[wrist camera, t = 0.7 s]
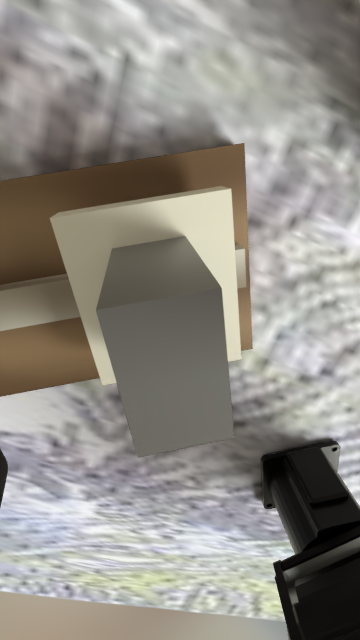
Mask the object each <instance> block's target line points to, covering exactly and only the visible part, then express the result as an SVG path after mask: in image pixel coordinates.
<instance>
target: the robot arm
mask: <svg viewBox="0 0 360 640" xmlns="http://www.w3.org/2000/svg"><path fill="white" fill-rule="evenodd" d="M339 455H340V446H339V444H338V443H337V442H336V441H331V442H326V443H321V444H316V445H312V446H307V447H302V448H297V449H292V450H288V451H283V452H278V453H273V454H268V455H265V456H263V457H262V458H261V476H262V503H263V506H264V508H265V509H272V508H276V509H277V511H278V513H279V516H280V518H281V521H282V523H283V526H284V528H285V530H286V533H287V535H288V538H289V540H290V543H291V545H292V548H293V550H294V552H295V555H293V556H291V557H289V558H287V559H285V560H283V561H281V560H279V561H277V562H274V563H273V565H274V569H275V573H276V576H275V580H276V584H277V588H278V592H279V596H280V600H281V604H282V608H283V612H284V616H285V620H286V624H287V630H288V637H289V640H360V506H359V505H358V503H357V502H356V500H355V499H354V497H353V496H352V494H351V493H350V491H349V490H348V488H347V486H346V485H345V483H344V482H343V480H342V479H341V477H340V476H339V474H338V473H337V471H338V463H339ZM7 473H8V464H7V460H6V458H5V456H4V454H3V453H2V451H1V449H0V507H1V502H2V497H3V493H4V488H5V483H6V478H7Z"/></svg>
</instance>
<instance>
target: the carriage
mask: <svg viewBox="0 0 360 640" xmlns="http://www.w3.org/2000/svg"><path fill="white" fill-rule="evenodd" d="M50 221H51V224H52V227H53V230H54V234H55V237H56V240H57V243H58V246H59V249H60V253H61V256H62V259H63V262H64V265H65V268H66V272H67V275H68V278H69V281H70V284H71V288H72V291H73V294H74V297H75V300H76V303H77V307H78V310H79V313H80V316H81V319H82V322H83V326H84V329H85V332H86V335H87V338H88V342H89V345H90V348H91V351H92V354H93V357H94V361H95V364H96V367H97V370H98V373H99V376H100V380H101V383H102V386H104V385H109V384H114V383H117V386H118V389H119V393H120V396H121V400H122V403H123V407H124V410H125V414H126V417H127V421H128V424H129V428H130V431H131V435H132V438H133V442H134V445H135V449H136V452H137V455H138V457H143V456H148V455H153V454H158V453H162V452H167V451H172V450H177V449H182V448H187V447H192V446H197V445H202V444H207V443H211V442H216V441H221V440H226V439H231V438H234V429H233V417H232V405H231V393H230V381H229V369H228V362H229V361H235V360H240V359H241V343H240V326H239V309H238V293H237V276H236V259H235V242H234V225H233V209H232V192H231V188H227V187H223V186H218V187H212V188H206V189H200V190H194V191H187V192H181V193H175V194H169V195H163V196H156V197H150V198H144V199H138V200H132V201H126V202H119V203H113V204H107V205H101V206H95V207H88V208H82V209H76V210H70V211H64V212H58V213H57V214H55V215H54V216H52V217H51V218H50Z"/></svg>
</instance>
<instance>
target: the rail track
mask: <svg viewBox="0 0 360 640" xmlns="http://www.w3.org/2000/svg"><path fill="white" fill-rule="evenodd" d="M218 186H223V187H227V188H231V192H232V209H233V225H234V242H235V259H236V276H237V293H238V309H239V326H240V343H241V351H243V350H248V349H252V325H251V300H250V275H249V250H248V225H247V200H246V175H245V150H244V143H241V144H235V145H229V146H222V147H216V148H209V149H203V150H196V151H190V152H183V153H177V154H171V155H164V156H158V157H151V158H145V159H138V160H132V161H125V162H119V163H112V164H106V165H100V166H93V167H87V168H80V169H74V170H67V171H61V172H54V173H48V174H42V175H35V176H29V177H22V178H16V179H9V180H3V181H0V397H1V396H6V395H12V394H17V393H22V392H27V391H33V390H38V389H43V388H48V387H54V386H59V385H64V384H69V383H75V382H80V381H85V380H91V379H96V378H100V376H99V373H98V370H97V367H96V364H95V361H94V357H93V354H92V351H91V348H90V345H89V342H88V338H87V335H86V332H85V329H84V326H83V322H82V319H81V316H80V313H79V310H78V307H77V303H76V300H75V297H74V294H73V291H72V288H71V284H70V281H69V278H68V275H67V272H66V268H65V265H64V262H63V259H62V256H61V253H60V249H59V246H58V243H57V240H56V237H55V234H54V230H53V227H52V224H51V221H50V218H51V217H52V216H54V215H55V214H57V213H58V212H64V211H70V210H76V209H82V208H88V207H95V206H101V205H107V204H113V203H119V202H126V201H132V200H138V199H144V198H150V197H156V196H163V195H169V194H175V193H181V192H187V191H194V190H200V189H206V188H212V187H218Z"/></svg>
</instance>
